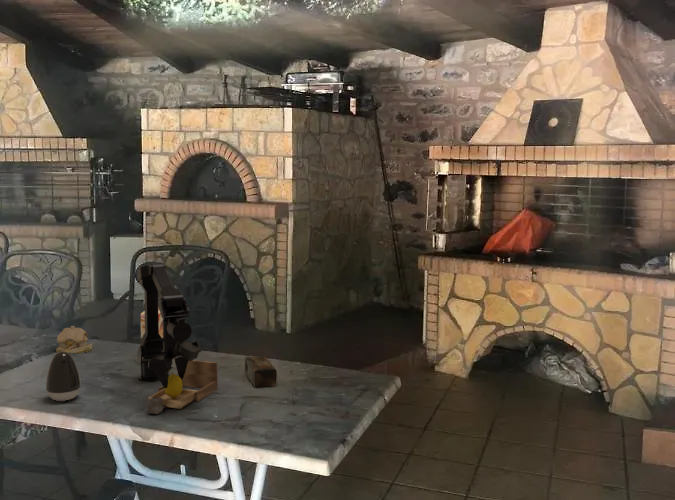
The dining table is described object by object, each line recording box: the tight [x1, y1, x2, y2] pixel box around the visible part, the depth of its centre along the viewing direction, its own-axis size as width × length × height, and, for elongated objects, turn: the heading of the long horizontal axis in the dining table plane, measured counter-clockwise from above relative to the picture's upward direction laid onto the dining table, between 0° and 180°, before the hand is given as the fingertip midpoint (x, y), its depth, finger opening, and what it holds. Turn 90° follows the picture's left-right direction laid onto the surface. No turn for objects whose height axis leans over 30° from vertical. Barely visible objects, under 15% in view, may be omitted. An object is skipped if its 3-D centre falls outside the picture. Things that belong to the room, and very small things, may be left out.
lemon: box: [164, 373, 184, 399], centre depth 209 cm, size 6×6×8 cm
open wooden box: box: [157, 359, 219, 403], centre depth 217 cm, size 14×13×9 cm
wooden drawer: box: [147, 388, 198, 415], centre depth 206 cm, size 11×17×4 cm, turn 162°
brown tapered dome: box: [45, 351, 82, 402], centre depth 210 cm, size 10×10×15 cm
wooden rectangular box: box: [244, 355, 278, 388], centre depth 232 cm, size 8×19×6 cm, turn 18°
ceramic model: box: [55, 325, 93, 354], centre depth 267 cm, size 14×11×10 cm
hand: (173, 383), depth 208 cm, fingers open, 9 cm apart
